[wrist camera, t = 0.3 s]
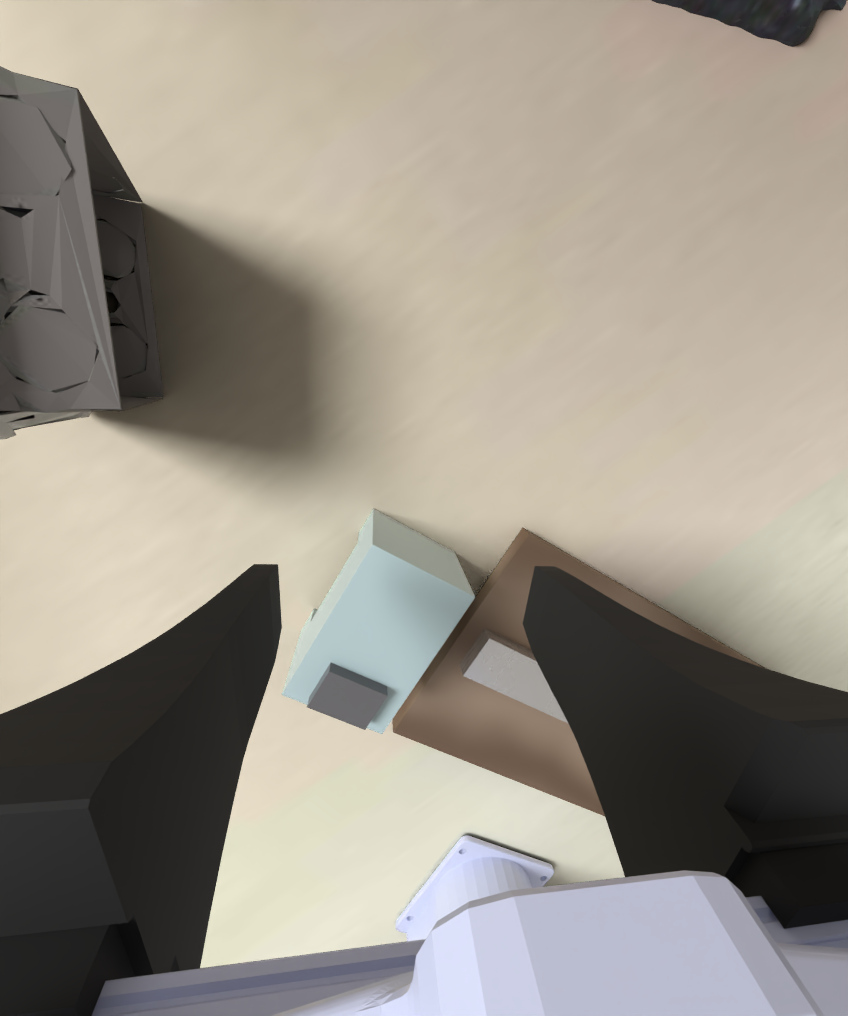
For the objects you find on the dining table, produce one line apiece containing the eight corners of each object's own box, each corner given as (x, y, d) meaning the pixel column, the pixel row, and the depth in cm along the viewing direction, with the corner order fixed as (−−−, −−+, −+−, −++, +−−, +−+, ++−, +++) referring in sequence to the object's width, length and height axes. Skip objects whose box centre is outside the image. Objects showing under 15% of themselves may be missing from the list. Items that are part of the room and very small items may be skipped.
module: (380, 664, 24) (382, 744, 19) (301, 630, 23) (278, 704, 18) (454, 552, 23) (478, 604, 17) (373, 508, 21) (372, 549, 16)
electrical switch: (35, 164, 16) (-315, -88, 7) (183, 186, 17) (29, -10, 8) (77, 413, 19) (-145, 443, 10) (202, 418, 20) (101, 449, 11)
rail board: (654, 825, 30) (672, 854, 29) (392, 719, 25) (393, 746, 23) (785, 679, 28) (815, 701, 26) (522, 527, 23) (536, 541, 21)
